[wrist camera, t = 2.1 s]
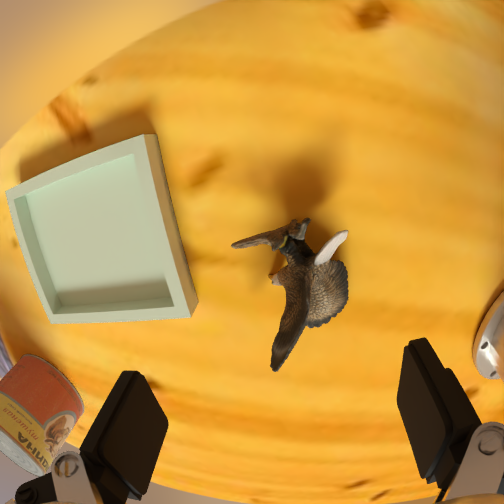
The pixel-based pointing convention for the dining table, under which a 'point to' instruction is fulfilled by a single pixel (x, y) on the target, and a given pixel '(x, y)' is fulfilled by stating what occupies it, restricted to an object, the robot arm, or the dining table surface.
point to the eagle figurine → (303, 283)
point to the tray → (104, 237)
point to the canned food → (36, 413)
